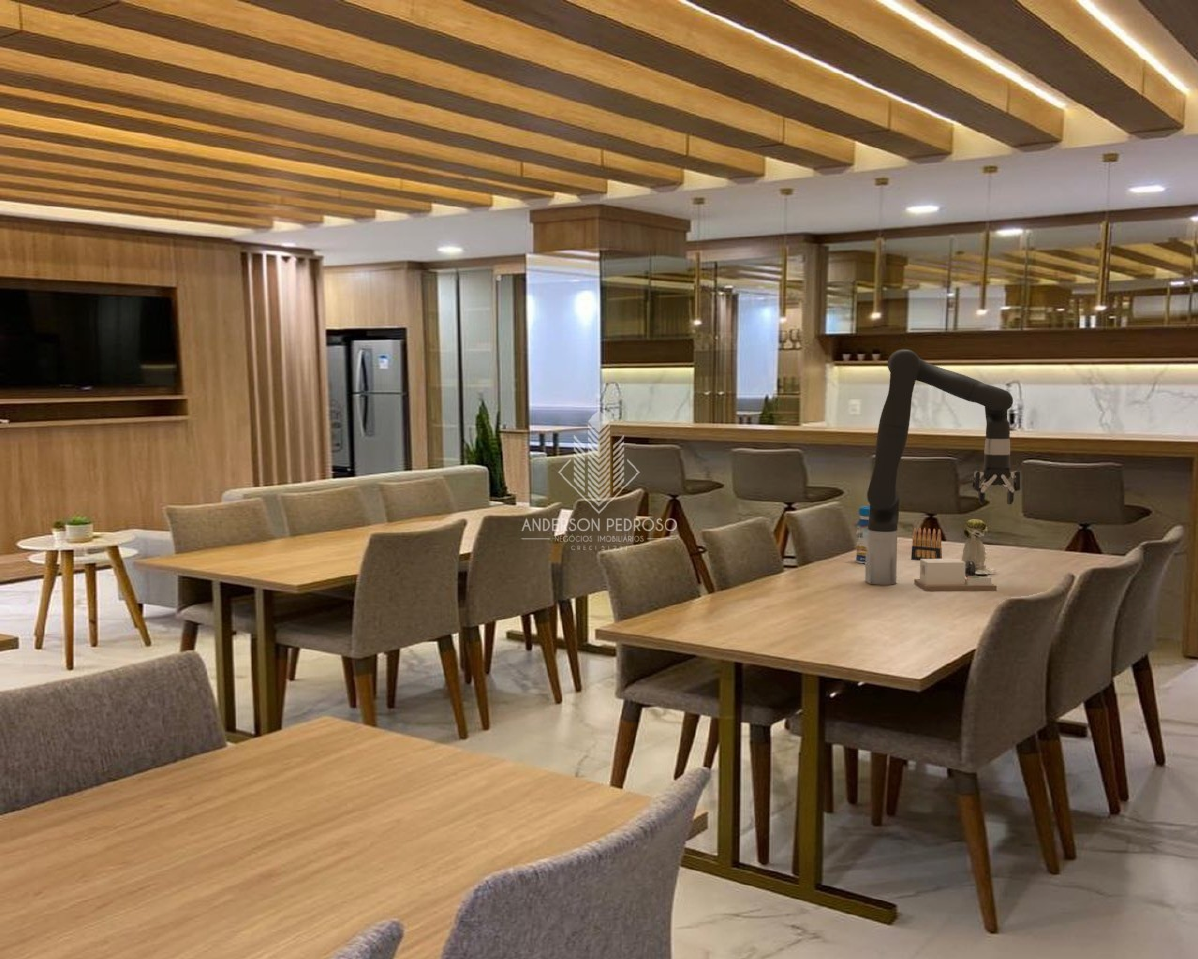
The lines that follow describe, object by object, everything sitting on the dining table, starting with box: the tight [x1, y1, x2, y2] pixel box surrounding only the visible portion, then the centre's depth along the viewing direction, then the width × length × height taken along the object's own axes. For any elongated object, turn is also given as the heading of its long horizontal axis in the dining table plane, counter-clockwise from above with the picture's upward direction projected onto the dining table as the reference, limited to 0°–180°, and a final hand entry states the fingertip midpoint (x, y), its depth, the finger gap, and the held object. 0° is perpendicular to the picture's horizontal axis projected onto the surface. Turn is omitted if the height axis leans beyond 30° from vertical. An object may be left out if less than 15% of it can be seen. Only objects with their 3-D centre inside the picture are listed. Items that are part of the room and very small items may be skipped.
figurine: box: [961, 518, 997, 577], centre depth 355 cm, size 12×13×18 cm
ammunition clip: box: [910, 526, 943, 561], centre depth 380 cm, size 11×2×12 cm, turn 55°
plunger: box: [965, 561, 978, 579], centre depth 330 cm, size 14×8×6 cm, turn 90°
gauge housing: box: [913, 558, 998, 592], centre depth 332 cm, size 22×12×8 cm, turn 90°
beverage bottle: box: [855, 505, 870, 564], centre depth 377 cm, size 8×8×20 cm
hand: (995, 504), depth 331 cm, fingers open, 8 cm apart
